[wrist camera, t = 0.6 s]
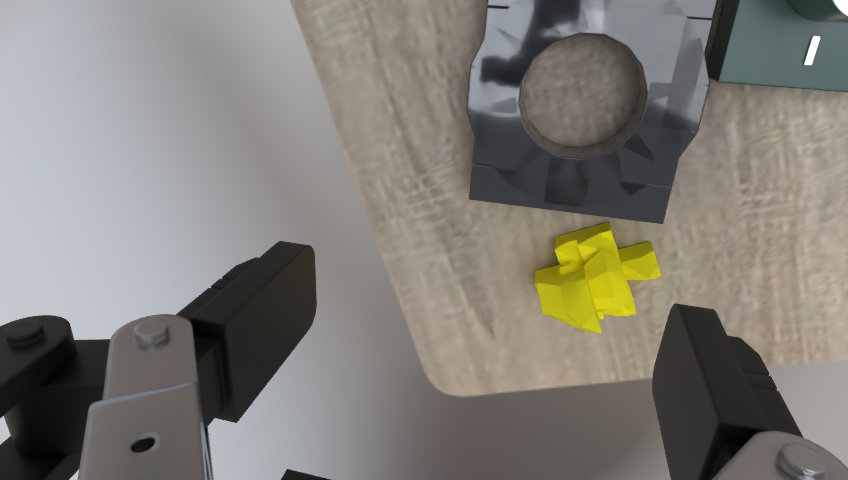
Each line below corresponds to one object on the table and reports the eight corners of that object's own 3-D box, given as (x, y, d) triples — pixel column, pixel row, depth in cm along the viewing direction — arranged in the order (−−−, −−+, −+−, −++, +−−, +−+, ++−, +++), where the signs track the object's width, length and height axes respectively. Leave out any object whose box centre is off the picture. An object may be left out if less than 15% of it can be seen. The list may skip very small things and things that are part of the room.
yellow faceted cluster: (664, 288, 38) (686, 351, 31) (551, 314, 41) (548, 377, 34) (641, 212, 36) (659, 260, 29) (525, 245, 39) (517, 296, 32)
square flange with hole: (486, -38, 33) (478, -42, 30) (724, -27, 30) (739, -31, 28) (466, 185, 38) (459, 198, 36) (666, 209, 36) (674, 225, 33)
